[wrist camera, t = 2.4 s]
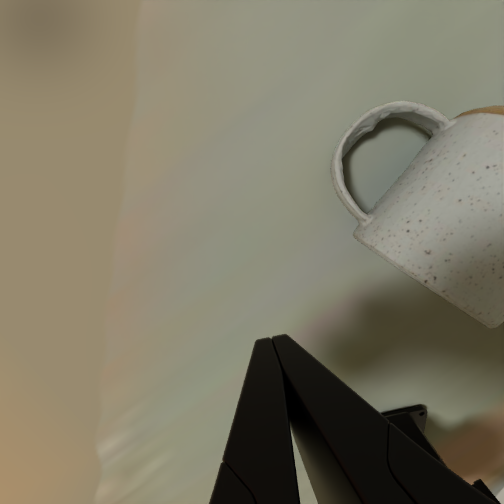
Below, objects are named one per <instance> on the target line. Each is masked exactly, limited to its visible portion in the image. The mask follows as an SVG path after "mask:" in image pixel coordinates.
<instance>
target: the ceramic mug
mask: <svg viewBox="0 0 504 504" xmlns="http://www.w3.org/2000/svg"><path fill="white" fill-rule="evenodd" d="M394 117H398V118H403V119H405V120H411V121H413V122H415V123H417V124H419V125H422V126H424V127H425V128H427V129H428V130H430V131H431V132H432V133H433V136H432V137H431V138H430V140H429V141H428V142H427V143H426V144H425V146H424V147H423V148H422V149H421V151H419V153H418V154H417V156H416V157H415V159H414V160H413V161H412V163H411V164H410V166H409V167H408V168H407V169H406V170H405V171H404V173H403V174H402V175H401V176H400V177H399V178H398V180H397V181H396V182H395V183H394V184H393V185H392V186H391V187H390V189H389V190H388V191H387V192H386V193H385V194H384V196H383V197H382V198H381V199H380V200H379V201H378V202H377V203H376V204H375V206H374V207H373V209H371V211H370V212H368V214H365V213H364V212H363V211H362V210H361V209H360V208H359V207H358V206H357V204H356V203H355V201H354V200H353V198H352V197H351V195H350V194H349V192H348V190H347V188H346V186H345V183H344V176H343V171H342V170H343V166H342V158H343V157H344V156H345V154H346V153H347V152H348V151H349V150H350V148H351V147H352V146H353V145H354V144H355V143H356V142H357V141H358V139H360V138H361V137H362V136H363V135H364V134H365V133H366V132H369V131H372V130H373V129H374V128H375V126H376V124H377V123H378V121H381V120H382V119H384V118H394ZM330 169H331V178H332V182H333V186H334V189H335V191H336V194H337V196H338V198H339V199H340V200H341V202H342V203H343V205H344V206H345V207H346V208H347V210H348V211H349V212H350V213H351V214H352V216H354V217H355V218H356V219H357V220H358V222H359V225H358V227H357V228H356V230H355V231H354V232H353V236H354V238H355V239H357V240H358V241H359V242H361V243H362V244H364V245H365V246H367V247H368V248H370V249H371V250H372V251H373V252H375V253H376V254H378V255H379V256H381V257H382V258H384V259H385V260H386V261H388V262H390V263H391V264H393V265H394V266H395V267H397V268H399V269H400V270H402V271H403V272H404V273H406V274H407V275H409V276H410V277H412V278H413V279H415V280H416V281H418V282H419V283H420V284H422V285H423V286H425V287H427V288H428V289H430V290H432V291H433V292H434V293H436V294H437V295H439V296H441V297H443V298H444V299H445V300H447V301H449V302H450V303H451V304H453V305H454V306H456V307H458V308H459V309H461V310H462V311H464V312H465V313H467V314H468V315H470V316H472V317H473V318H474V319H476V320H477V321H479V322H480V323H482V324H484V325H485V326H486V327H488V328H497V327H498V326H499V325H500V324H502V323H503V322H504V106H490V107H484V108H478V109H473V110H470V111H467V112H464V113H462V114H460V115H458V116H457V117H455V118H454V119H452V120H449V119H447V118H446V117H445V115H444V114H442V113H439V112H438V111H437V110H435V109H434V108H430V107H428V106H426V105H424V104H421V103H415V102H409V101H397V102H392V103H387V104H382V105H380V106H377V107H375V108H373V109H371V110H368V111H367V112H365V113H364V114H363V115H362V116H360V117H359V118H358V119H357V120H356V121H355V122H354V123H353V124H351V125H350V127H349V128H348V129H347V130H346V132H345V133H344V134H343V135H342V137H341V139H340V140H339V142H338V144H337V146H336V147H335V151H334V154H333V157H332V162H331V168H330Z"/></svg>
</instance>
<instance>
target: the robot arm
mask: <svg viewBox="0 0 504 504" xmlns="http://www.w3.org/2000/svg"><path fill="white" fill-rule="evenodd" d="M426 417H427V410H426V409H425V408H424V407H423V406H416V407H412V408H408V409H403V410H399V411H394V412H390V413H386V414H380V413H379V412H378V411H377V410H376V409H374V408H373V407H372V406H371V405H370V404H369V403H367V402H366V401H365V400H364V399H363V398H361V397H360V396H359V395H358V394H357V393H356V392H354V391H353V390H352V389H351V388H350V387H348V386H347V385H346V384H345V383H344V382H343V381H341V380H340V379H339V378H338V377H337V376H335V375H334V374H333V373H332V372H331V371H330V370H328V369H327V368H326V367H325V366H324V365H322V364H321V363H320V362H319V361H318V360H316V359H315V358H314V357H313V356H312V355H311V354H309V353H308V352H307V351H306V350H305V349H303V348H302V347H301V346H300V345H299V344H298V343H296V342H295V341H294V340H293V339H292V338H290V337H289V336H288V335H286V334H282V335H277V336H273V337H272V339H271V338H269V337H267V338H262V339H258V340H256V341H255V344H254V348H253V351H252V355H251V359H250V362H249V366H248V369H247V373H246V376H245V380H244V384H243V387H242V391H241V394H240V398H239V401H238V405H237V408H236V412H235V416H234V419H233V423H232V426H231V430H230V433H229V437H228V441H227V444H226V448H225V451H224V455H223V458H222V461H223V462H222V463H221V465H220V468H219V472H218V475H217V479H216V483H215V486H214V489H213V492H212V495H211V499H210V502H209V504H300V497H299V490H298V482H297V475H296V467H295V460H294V452H293V445H292V437H291V430H292V433H293V436H294V439H295V442H296V444H297V447H298V450H299V453H300V455H301V458H302V461H303V464H304V466H305V469H306V472H307V474H308V477H309V480H310V483H311V485H312V488H313V491H314V494H315V496H316V499H317V502H318V504H501V503H500V502H499V501H498V500H497V499H496V497H495V496H494V495H493V494H492V492H491V491H490V490H489V489H488V487H487V486H486V485H485V484H484V483H483V481H482V480H481V479H479V480H477V481H475V482H473V483H474V484H473V485H470V484H469V483H467V482H466V481H465V480H463V479H462V478H461V477H459V476H458V475H457V474H455V473H454V472H453V471H451V470H450V469H448V468H447V466H446V465H445V463H444V462H443V461H442V459H441V457H440V456H439V454H438V453H437V452H436V450H435V449H434V447H433V446H432V445H431V443H430V442H429V440H428V439H427V437H426V436H425V435H424V429H425V423H426ZM290 428H291V429H290Z"/></svg>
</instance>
